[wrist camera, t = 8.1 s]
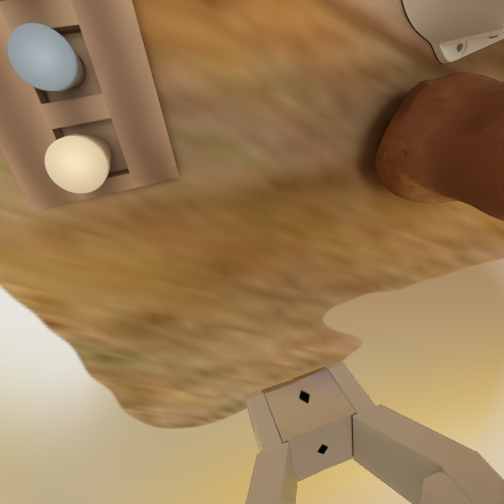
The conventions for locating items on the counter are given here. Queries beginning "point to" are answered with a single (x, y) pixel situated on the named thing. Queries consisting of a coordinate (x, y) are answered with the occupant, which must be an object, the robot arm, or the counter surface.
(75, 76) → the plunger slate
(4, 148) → the wooden board with holes
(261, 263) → the counter surface
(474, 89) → the brown rounded block
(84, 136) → the plunger cream
